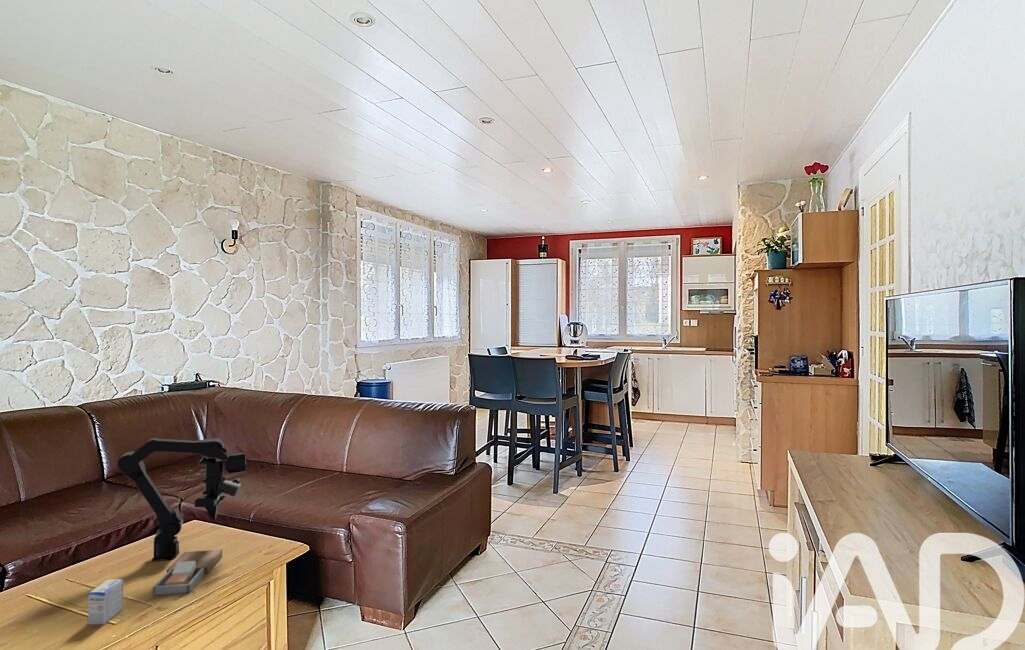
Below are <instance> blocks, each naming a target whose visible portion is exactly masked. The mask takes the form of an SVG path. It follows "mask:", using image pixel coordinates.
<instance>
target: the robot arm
mask: <svg viewBox="0 0 1025 650" xmlns="http://www.w3.org/2000/svg"><path fill="white" fill-rule="evenodd" d="M224 446H225V444H224V442H223V440H222V439H221V438H217V437H214V438H204V439H199V440H187V439H171V438H170V439H169V438H168V439H167V438H158V437H152V438H151V439H149V440H148V441H147V442H145V443H144V444H142V445H140V446H139V447H138V448H136V449H135V450H134V451H133V450H132V451H131V450H130V451H128V452H126V453H124V454H123V455H122V456H121V457H120V458H119V460H118V461H117V464H116V466H117V468H118V470H119V471H120V472H121V473H123V475H124V476H125V477H127V478H128V479H129V480H132V482H133V483H134V484H135V485H136V487H137V488H138V490H139V491H140V494H142V495H143V497H144V499H145V500H146V502H147V503H148V505H149V507H150V508H151V510H153V511H152V512H154V514H155V515H156V518H157V523H158V526H159V528H158V529H157V532H156V533H155V536H154V538H153V557H152V558H151V562H156V561H157V562H158V561H171V560H173V559H174V558H175V557H176V556H177V555H178V554H179V553H180V541H179V540H178V536H177V535H178V534H180V532H181V530H182V527H183V524H184V519H183V518H184V514H182V513H181V512H180V509H179V507H178V506H176V507H175V508H172V507H171V506H170V505H169V504H168V503H167V501H166V499H165V498H164V497H163V495H162V493H161V492H160V491H159V489H158V488H157V487H156V485H155V483H154V482H153V481H152V479H151V477H150V476H149V474H148V473H147V470H146V465H145V462H144V460H145V459H147V458H148V457H149V456H150V455H151V454H153V453H154V452H166V453H167V452H169V453H187V454H189V453H191V454H196V455H199V456H203V457H202V458H201V459H200V460H199V462H198V464H199V465H204V479H203V480H202V484H204V490H203V491H202V495H200V496H198V497H197V498H196V499H195V501H194V507H196V508H205V510H206V511H207V513H208V515H209V517H210V519H211V520H215V519H217V515H218V512H219V509H220V505H221V503H222V502H223V501H224V499H226V495H229V496H231V497H236V496H237V494H239V492H240V489H241V488H242V483H241V480H240V478H234V479H233V480H227V477H226V475H224V471H225V472H226V473H228V474H238V473H239V474H240V473H241V474H242V473H247V460H246V459H247V458H246V457H247V456H246V452H242V453H235V454H230V452H229V451H228V450H227V448H225V447H224ZM224 464H225V466H224ZM224 467H225V468H224ZM224 469H225V470H224ZM222 494H226V495H222Z"/></svg>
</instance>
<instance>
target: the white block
mask: <svg viewBox="0 0 1025 650" xmlns="http://www.w3.org/2000/svg"><path fill="white" fill-rule="evenodd" d="M195 569H196V562H195V561H186V562H178V563H177V565H176V567H175V568H174V570H173V572H172V575H183V574H189V578H191V577H192V575H193V573H194V571H195Z"/></svg>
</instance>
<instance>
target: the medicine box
mask: <svg viewBox="0 0 1025 650" xmlns="http://www.w3.org/2000/svg"><path fill="white" fill-rule="evenodd" d="M123 609H124V579H118V578H117V579H114V578H113V579H106V580H105V581H103V582H102V583H100V584H98V586H97V587H95V588H94V589H93V590H91V591H90V592H88V613H87V614H88V617H87V618H88V621H87V622H88V625H91V626H92V625H93V626H94V625H106V624H107V623H108V622H109V621H110V620H112V619H113V618H114V617H115V616H116V615H117V614H118V613H120V612H121V611H122V610H123Z"/></svg>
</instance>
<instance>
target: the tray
mask: <svg viewBox="0 0 1025 650" xmlns="http://www.w3.org/2000/svg"><path fill="white" fill-rule="evenodd" d="M172 572H173V570H169V571H168V572H167V571H166V572H165V573H166V574H165V575H164V576H163V577H161V579H160V580H158V582H156V583H155V584H154V586H152V596H165V595H179V594H181V595H182V594H190V593H191V592H192V591H193V590H194V588H195V587H196V586H197V585H198V584H199V582H200V581H201V580H202V579H203V578H204V576H205V575H204V568H201V569H200V570H199V572H198V573H197V574H196V575H192V577H191V578H189V583H188V584H180V585H165V582H166V581H167V580H168V579H169V578H170V577H171V575H172Z"/></svg>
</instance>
